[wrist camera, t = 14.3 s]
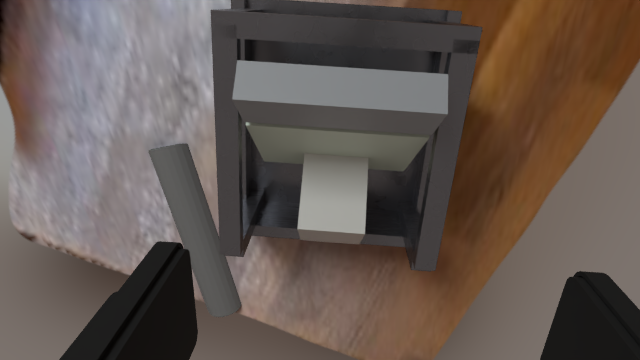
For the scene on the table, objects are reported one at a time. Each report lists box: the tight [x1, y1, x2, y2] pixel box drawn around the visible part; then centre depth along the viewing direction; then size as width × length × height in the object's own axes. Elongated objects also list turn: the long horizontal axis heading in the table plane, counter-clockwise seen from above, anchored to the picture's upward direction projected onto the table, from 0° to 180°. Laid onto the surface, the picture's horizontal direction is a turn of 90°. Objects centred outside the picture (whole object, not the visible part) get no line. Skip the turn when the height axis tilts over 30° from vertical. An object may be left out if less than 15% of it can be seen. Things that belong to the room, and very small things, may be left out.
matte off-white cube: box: [297, 153, 368, 245], centre depth 35 cm, size 5×5×6 cm
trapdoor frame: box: [211, 0, 482, 271], centre depth 33 cm, size 17×19×11 cm
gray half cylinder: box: [149, 144, 241, 317], centre depth 43 cm, size 4×20×2 cm, turn 11°
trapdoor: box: [232, 60, 448, 171], centre depth 30 cm, size 12×13×2 cm
